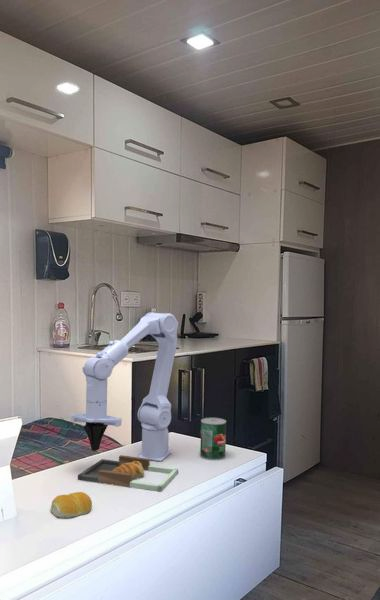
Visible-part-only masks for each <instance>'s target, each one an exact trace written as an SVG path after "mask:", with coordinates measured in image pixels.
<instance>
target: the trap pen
mask: <svg viewBox="0 0 380 600" xmlns="http://www.w3.org/2000/svg"><path fill="white" fill-rule="evenodd" d="M116 467H119V460H111V459H103V458H101V459H100V460H98V461H96V462H95V463H94V464H93V465H91V466H90V467H88V468H86V469H85V470H83V471H82V472H80V473H78V474H77V480H78V481H84V482H89V483H90V482H91V483H97V484H98V471H99V470H106V471H112V470H113V469H114V468H116Z"/></svg>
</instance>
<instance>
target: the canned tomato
mask: <svg viewBox="0 0 380 600" xmlns="http://www.w3.org/2000/svg"><path fill="white" fill-rule="evenodd" d="M226 434H227V420H226V419H224V418H219V417H204V418H201V420H200V449H199V451H200V452H199V456H200V458H201V459H205V460H208V461H209V460H210V461H219V460H223V459H225V458H226V451H227V450H226V442H227V440H226V439H227V435H226Z"/></svg>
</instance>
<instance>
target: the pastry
mask: <svg viewBox="0 0 380 600" xmlns="http://www.w3.org/2000/svg"><path fill="white" fill-rule="evenodd" d="M112 471H114V472H121V473H129V474H132V481H134V480H137V478H138V479H141V478H143V477H144V476H145V470H144V469H143V467H142V464H141V463H140V462H139V461H133V462H128V463H123V464H121V465H120V466H119V467H116V468H114V469H113V470H112Z"/></svg>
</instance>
